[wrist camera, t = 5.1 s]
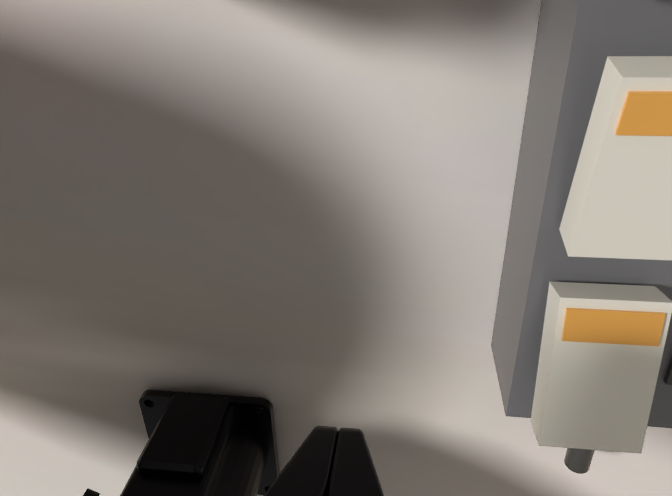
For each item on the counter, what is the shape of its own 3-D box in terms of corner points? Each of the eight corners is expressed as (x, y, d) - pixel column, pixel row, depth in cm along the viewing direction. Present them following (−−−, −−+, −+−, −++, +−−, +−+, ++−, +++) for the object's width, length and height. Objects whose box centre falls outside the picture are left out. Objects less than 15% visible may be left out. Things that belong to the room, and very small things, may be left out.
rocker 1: (670, 233, 15) (687, 263, 14) (559, 229, 16) (568, 258, 15) (749, 55, 12) (779, 79, 11) (607, 56, 12) (624, 79, 11)
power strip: (660, 443, 24) (704, 530, 21) (478, 430, 25) (490, 511, 22) (949, -324, 12) (1172, -437, 9) (585, -297, 13) (651, -390, 10)
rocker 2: (625, 428, 18) (642, 455, 16) (530, 421, 18) (539, 447, 17) (654, 286, 16) (675, 304, 15) (549, 281, 16) (561, 298, 15)
